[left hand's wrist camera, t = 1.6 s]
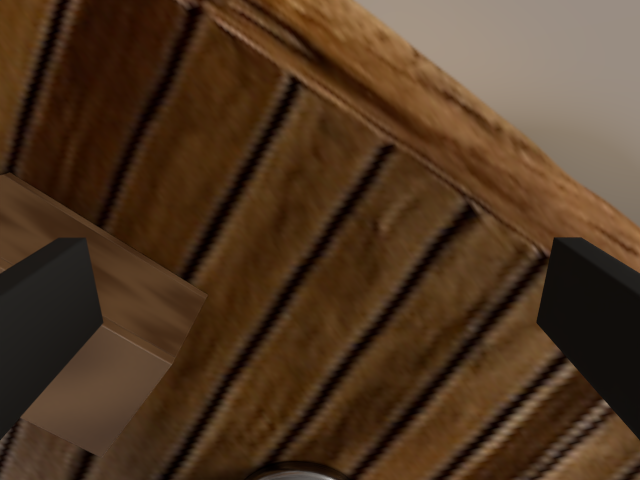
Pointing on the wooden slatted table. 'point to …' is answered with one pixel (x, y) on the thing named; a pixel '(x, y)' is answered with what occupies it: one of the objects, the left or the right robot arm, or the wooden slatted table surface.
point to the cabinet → (118, 316)
